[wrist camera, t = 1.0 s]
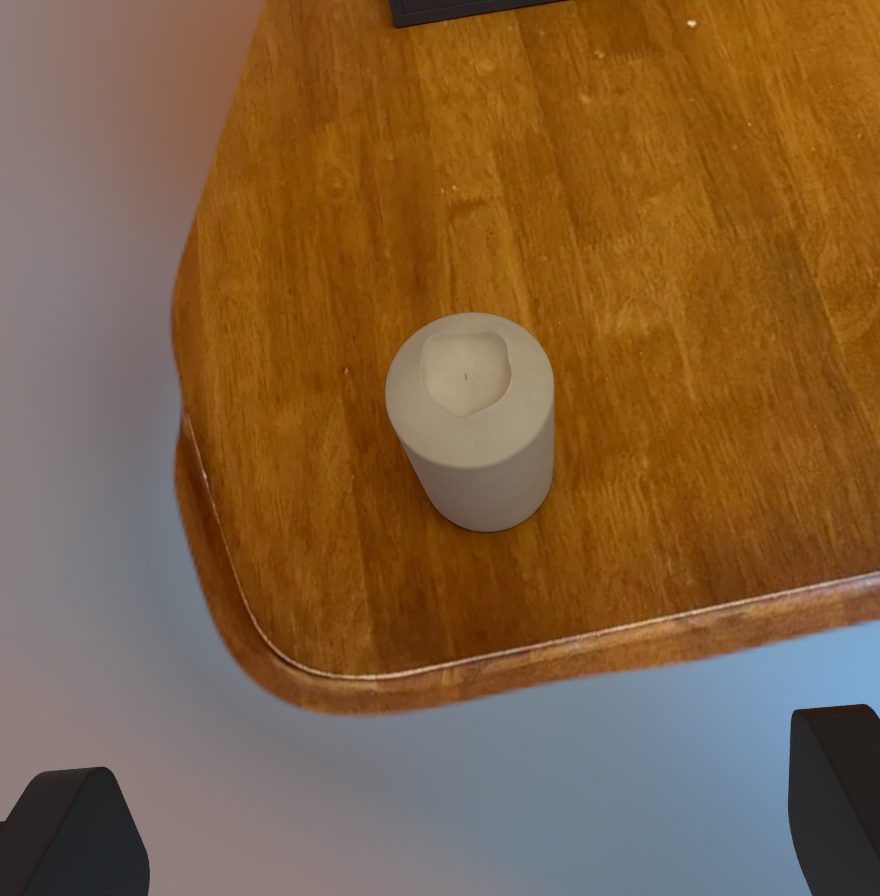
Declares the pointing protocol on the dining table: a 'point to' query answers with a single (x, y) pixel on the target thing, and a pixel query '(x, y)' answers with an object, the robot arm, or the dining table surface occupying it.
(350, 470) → the dining table surface
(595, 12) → the dining table surface
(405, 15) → the tray
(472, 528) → the candle
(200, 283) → the dining table surface
